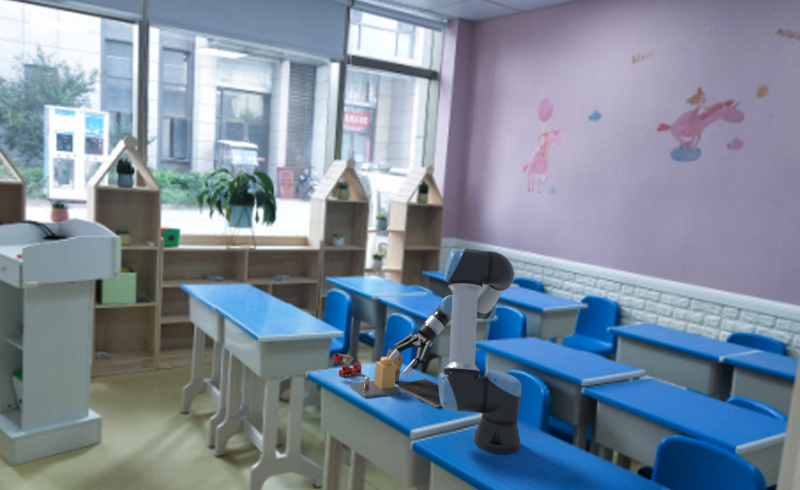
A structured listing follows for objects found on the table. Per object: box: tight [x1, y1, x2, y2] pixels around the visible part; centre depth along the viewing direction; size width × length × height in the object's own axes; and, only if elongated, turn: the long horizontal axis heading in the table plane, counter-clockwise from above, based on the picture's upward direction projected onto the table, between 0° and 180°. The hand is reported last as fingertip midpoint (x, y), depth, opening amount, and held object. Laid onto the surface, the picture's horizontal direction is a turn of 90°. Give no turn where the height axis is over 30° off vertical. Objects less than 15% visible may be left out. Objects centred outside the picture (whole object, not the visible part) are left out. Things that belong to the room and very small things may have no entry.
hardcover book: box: [396, 378, 442, 408], centre depth 242 cm, size 16×23×2 cm
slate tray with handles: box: [349, 376, 401, 398], centre depth 240 cm, size 12×16×6 cm
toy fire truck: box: [331, 353, 363, 378], centre depth 255 cm, size 3×14×10 cm, turn 129°
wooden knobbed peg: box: [373, 356, 397, 389], centre depth 242 cm, size 6×6×11 cm
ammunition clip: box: [385, 348, 404, 384], centre depth 256 cm, size 11×2×12 cm, turn 37°
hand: (396, 368), depth 245 cm, fingers open, 13 cm apart
